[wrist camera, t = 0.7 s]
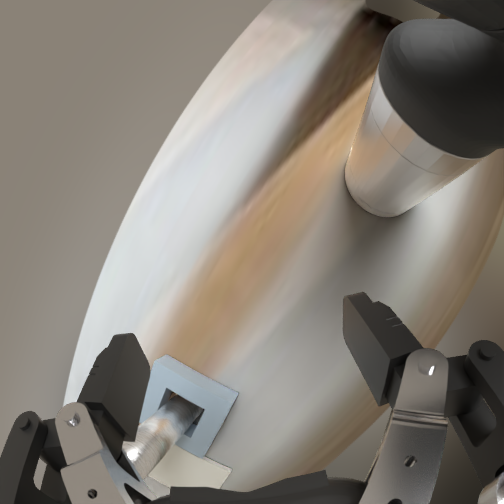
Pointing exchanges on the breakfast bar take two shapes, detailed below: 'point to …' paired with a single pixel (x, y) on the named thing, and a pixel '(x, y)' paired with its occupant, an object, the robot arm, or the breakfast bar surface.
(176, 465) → the felt pad
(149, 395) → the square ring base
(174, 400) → the steel pin
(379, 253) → the breakfast bar surface
